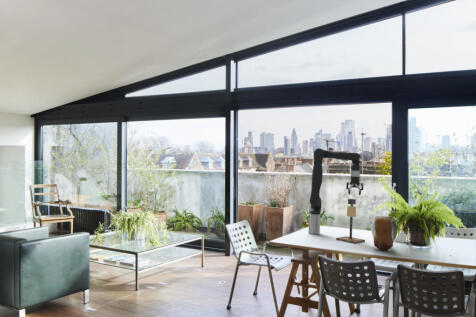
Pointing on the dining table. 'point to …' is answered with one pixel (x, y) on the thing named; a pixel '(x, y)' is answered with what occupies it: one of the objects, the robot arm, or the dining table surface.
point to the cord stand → (350, 238)
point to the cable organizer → (401, 237)
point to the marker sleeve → (351, 211)
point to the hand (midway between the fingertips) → (354, 194)
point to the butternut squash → (383, 233)
